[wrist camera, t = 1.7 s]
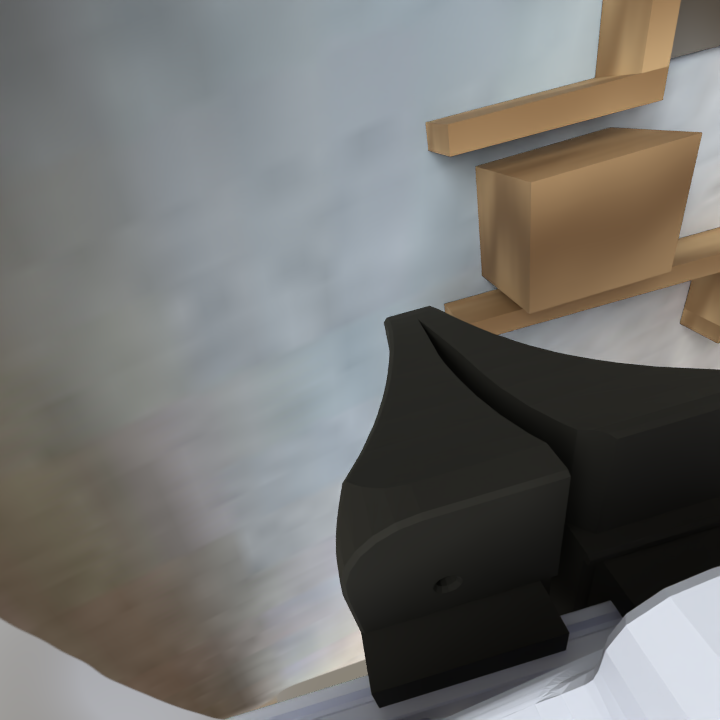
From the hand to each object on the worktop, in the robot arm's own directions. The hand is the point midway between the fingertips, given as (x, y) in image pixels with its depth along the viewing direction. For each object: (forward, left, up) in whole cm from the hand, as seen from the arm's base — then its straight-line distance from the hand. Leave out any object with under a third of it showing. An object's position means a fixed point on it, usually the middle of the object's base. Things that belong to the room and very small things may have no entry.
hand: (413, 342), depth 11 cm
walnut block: (0, -9, -8) cm, 12 cm away
